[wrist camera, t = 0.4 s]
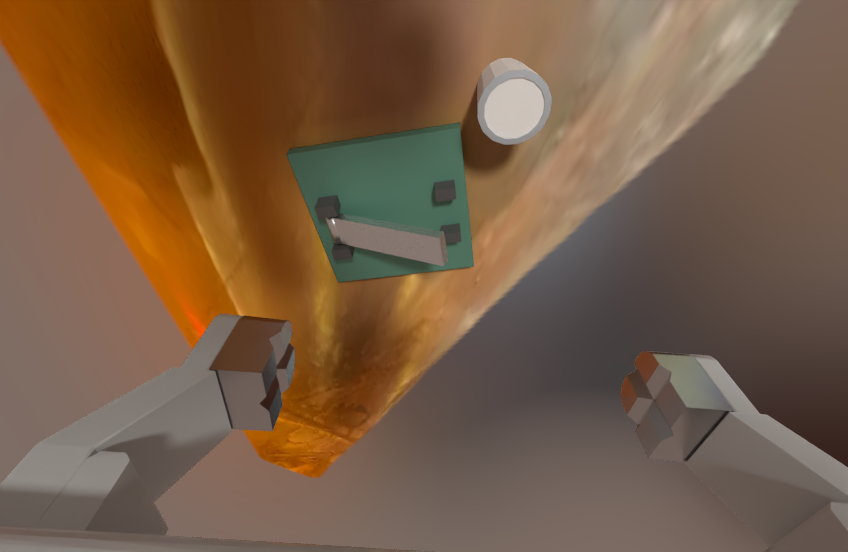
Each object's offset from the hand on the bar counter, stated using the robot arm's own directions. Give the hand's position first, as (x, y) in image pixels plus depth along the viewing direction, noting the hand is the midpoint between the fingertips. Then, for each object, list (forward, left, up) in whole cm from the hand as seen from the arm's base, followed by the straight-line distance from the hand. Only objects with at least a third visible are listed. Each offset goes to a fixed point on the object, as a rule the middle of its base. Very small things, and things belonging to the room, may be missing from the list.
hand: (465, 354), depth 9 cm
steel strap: (+19, -9, -34) cm, 40 cm away
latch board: (+19, -9, -39) cm, 44 cm away
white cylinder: (+6, +6, -39) cm, 40 cm away
